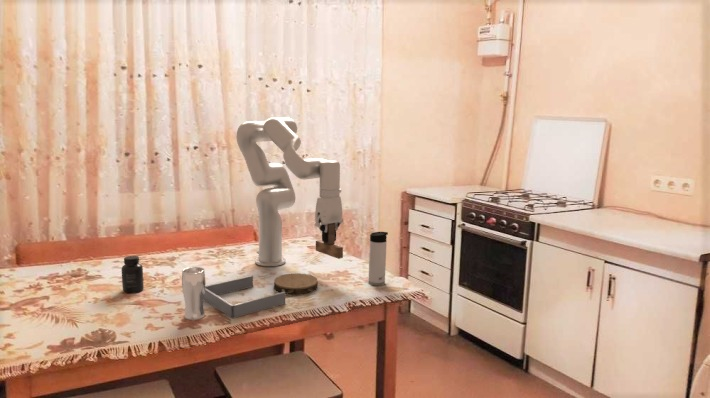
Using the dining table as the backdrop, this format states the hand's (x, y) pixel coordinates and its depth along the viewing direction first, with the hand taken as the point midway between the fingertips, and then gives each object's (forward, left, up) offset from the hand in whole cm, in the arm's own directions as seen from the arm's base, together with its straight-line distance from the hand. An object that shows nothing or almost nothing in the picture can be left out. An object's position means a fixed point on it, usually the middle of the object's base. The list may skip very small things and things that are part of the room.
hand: (329, 240), depth 195 cm
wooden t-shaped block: (0, 0, -5) cm, 5 cm away
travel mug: (+15, +12, -16) cm, 25 cm away
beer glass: (+2, -55, -16) cm, 57 cm away
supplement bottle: (-32, -62, -16) cm, 72 cm away
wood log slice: (0, -15, -16) cm, 22 cm away
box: (0, -37, -15) cm, 40 cm away
